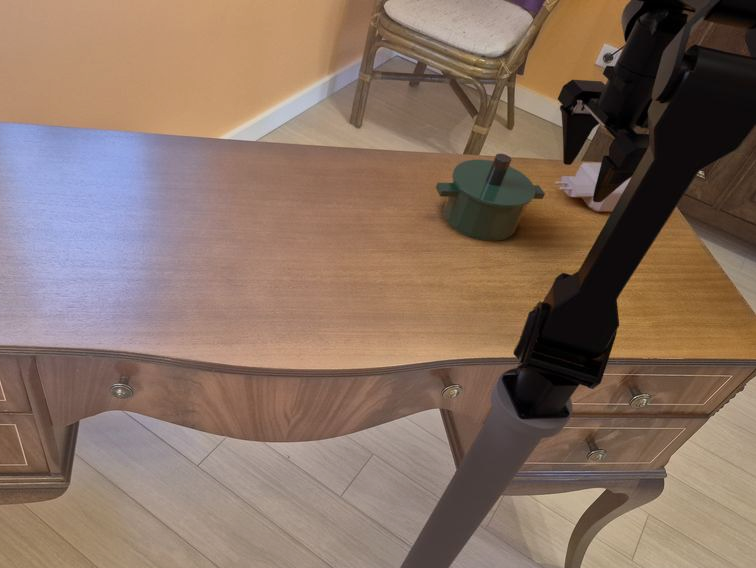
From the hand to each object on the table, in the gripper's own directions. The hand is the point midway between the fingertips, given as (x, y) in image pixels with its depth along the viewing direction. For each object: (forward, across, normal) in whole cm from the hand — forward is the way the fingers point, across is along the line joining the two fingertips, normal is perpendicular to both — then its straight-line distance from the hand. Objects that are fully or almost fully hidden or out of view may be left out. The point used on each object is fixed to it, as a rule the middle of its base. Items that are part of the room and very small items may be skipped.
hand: (581, 182), depth 84 cm
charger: (+13, +16, -16) cm, 26 cm away
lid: (+7, +9, +7) cm, 14 cm away
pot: (+13, +10, +7) cm, 18 cm away
